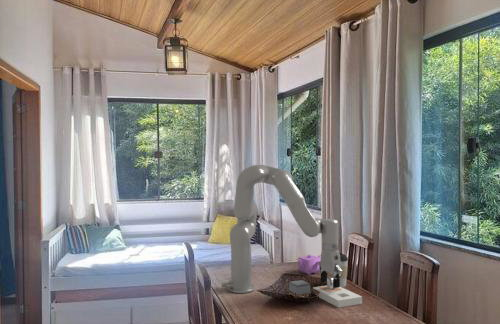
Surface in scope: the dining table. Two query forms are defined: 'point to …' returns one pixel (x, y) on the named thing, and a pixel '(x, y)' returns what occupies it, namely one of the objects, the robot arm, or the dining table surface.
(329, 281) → the pin
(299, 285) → the cover
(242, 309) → the dining table surface
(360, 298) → the board
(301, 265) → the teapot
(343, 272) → the coffee cup
